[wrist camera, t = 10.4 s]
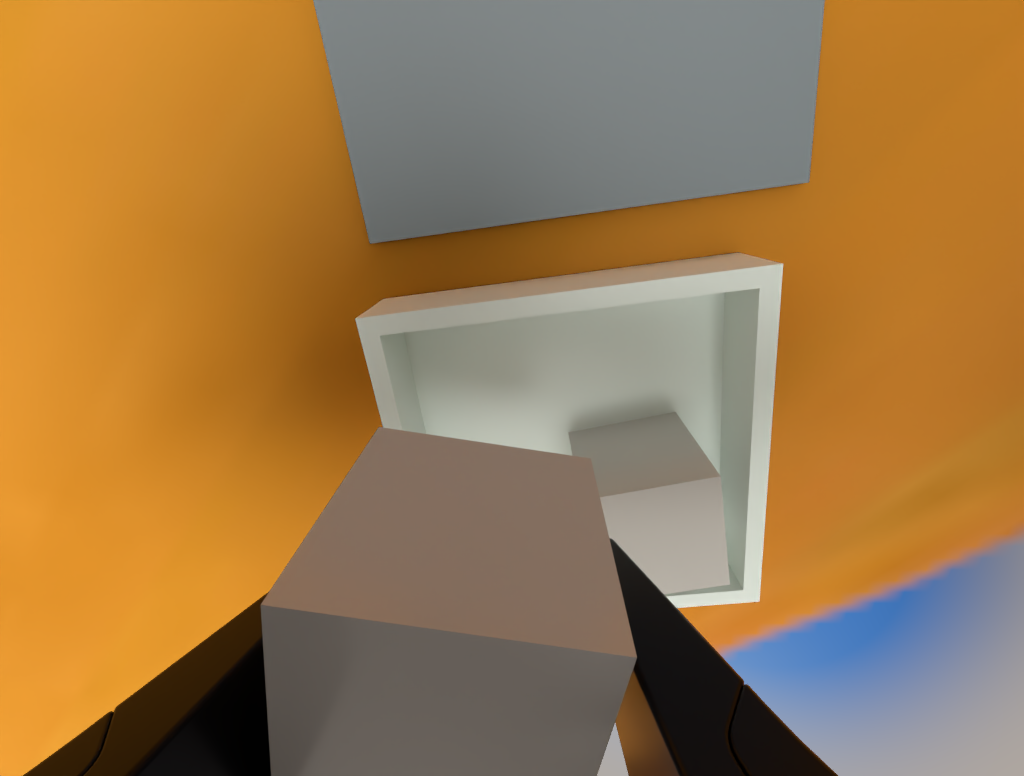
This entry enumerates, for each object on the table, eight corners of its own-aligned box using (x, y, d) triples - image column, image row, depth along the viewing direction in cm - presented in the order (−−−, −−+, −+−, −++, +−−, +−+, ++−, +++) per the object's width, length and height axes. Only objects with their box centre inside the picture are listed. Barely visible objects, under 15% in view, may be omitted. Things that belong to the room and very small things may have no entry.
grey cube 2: (590, 458, 9) (637, 658, 5) (553, 616, 10) (566, 864, 7) (378, 426, 9) (261, 605, 5) (370, 591, 10) (274, 826, 6)
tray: (738, 252, 16) (783, 263, 13) (727, 546, 20) (759, 601, 18) (383, 298, 17) (354, 318, 14) (446, 570, 21) (434, 626, 18)
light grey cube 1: (675, 411, 18) (720, 476, 14) (686, 501, 19) (729, 584, 15) (568, 432, 18) (580, 500, 14) (586, 518, 19) (602, 603, 15)
